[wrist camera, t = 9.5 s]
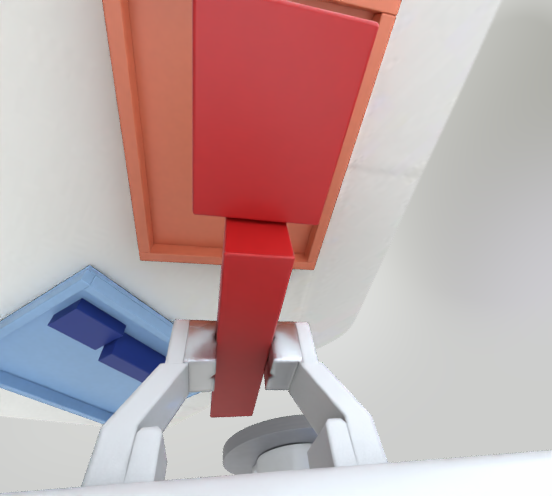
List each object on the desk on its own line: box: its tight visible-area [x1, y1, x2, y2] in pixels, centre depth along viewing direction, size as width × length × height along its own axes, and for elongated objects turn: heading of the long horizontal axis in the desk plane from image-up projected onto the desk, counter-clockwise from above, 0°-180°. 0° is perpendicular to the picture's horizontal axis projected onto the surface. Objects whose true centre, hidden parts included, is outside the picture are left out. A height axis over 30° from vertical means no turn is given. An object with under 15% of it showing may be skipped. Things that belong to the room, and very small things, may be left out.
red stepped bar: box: [192, 0, 379, 417], centre depth 9 cm, size 14×4×3 cm, turn 170°
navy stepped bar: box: [47, 298, 166, 383], centre depth 28 cm, size 14×4×3 cm, turn 30°
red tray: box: [102, 0, 402, 270], centre depth 18 cm, size 18×14×2 cm
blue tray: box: [0, 265, 200, 424], centre depth 31 cm, size 20×19×2 cm
